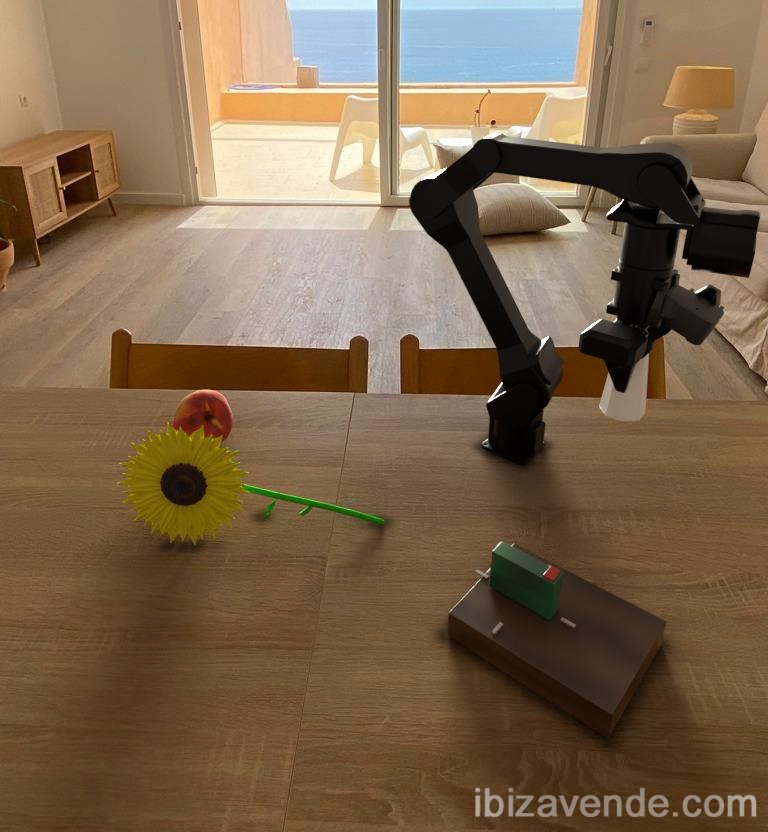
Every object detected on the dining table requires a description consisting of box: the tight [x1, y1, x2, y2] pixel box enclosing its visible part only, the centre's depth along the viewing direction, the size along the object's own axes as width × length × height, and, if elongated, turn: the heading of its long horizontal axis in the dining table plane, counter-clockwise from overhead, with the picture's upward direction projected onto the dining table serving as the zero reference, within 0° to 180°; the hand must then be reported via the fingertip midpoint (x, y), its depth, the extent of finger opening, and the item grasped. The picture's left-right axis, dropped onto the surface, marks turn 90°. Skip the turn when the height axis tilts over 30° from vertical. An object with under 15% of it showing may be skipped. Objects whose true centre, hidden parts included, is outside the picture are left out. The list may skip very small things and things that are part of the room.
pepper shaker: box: [598, 330, 650, 423], centre depth 82 cm, size 5×5×11 cm
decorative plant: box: [117, 421, 385, 546], centre depth 78 cm, size 15×6×30 cm
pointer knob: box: [490, 541, 563, 620], centre depth 65 cm, size 6×2×5 cm, turn 50°
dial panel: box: [447, 542, 667, 740], centre depth 65 cm, size 12×17×3 cm
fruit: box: [172, 389, 234, 444], centre depth 94 cm, size 8×8×8 cm
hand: (626, 384), depth 83 cm, fingers closed on pepper shaker, 4 cm apart
